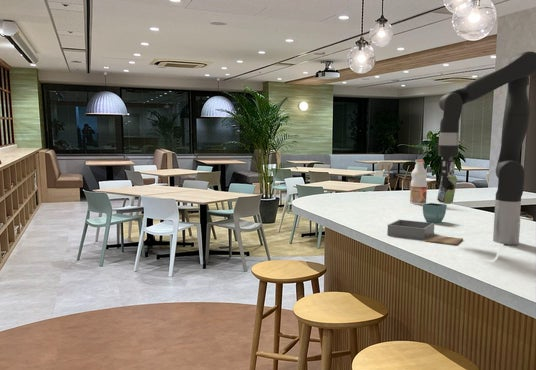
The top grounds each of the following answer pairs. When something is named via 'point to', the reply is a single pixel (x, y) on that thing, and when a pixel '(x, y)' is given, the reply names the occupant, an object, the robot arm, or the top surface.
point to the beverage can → (447, 190)
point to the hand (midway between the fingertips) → (447, 186)
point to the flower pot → (434, 212)
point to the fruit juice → (418, 184)
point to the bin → (411, 229)
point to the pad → (444, 240)
